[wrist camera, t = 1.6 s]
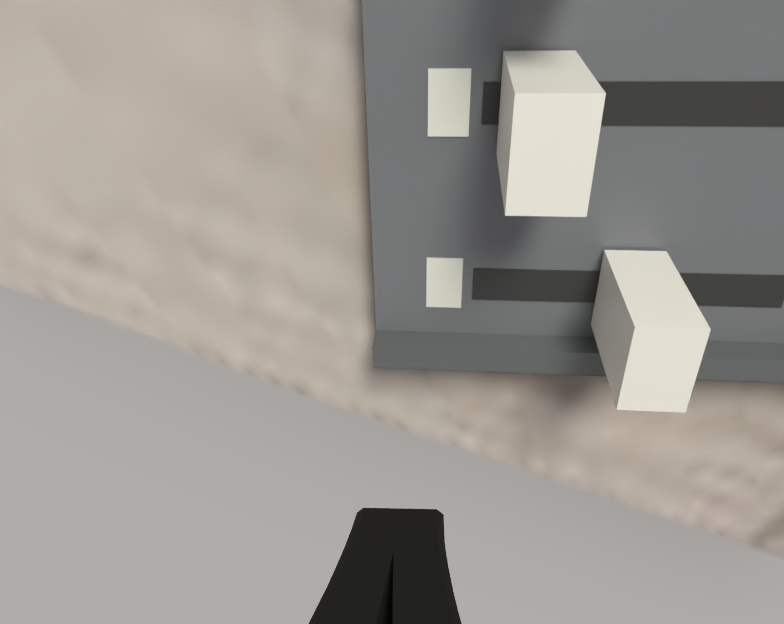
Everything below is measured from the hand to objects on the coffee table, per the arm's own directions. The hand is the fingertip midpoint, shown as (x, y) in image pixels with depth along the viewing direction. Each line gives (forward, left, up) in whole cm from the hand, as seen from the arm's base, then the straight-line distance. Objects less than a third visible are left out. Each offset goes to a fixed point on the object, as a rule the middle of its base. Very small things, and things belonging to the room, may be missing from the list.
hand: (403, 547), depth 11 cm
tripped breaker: (-6, 0, -9) cm, 10 cm away
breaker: (-3, -5, -9) cm, 10 cm away
